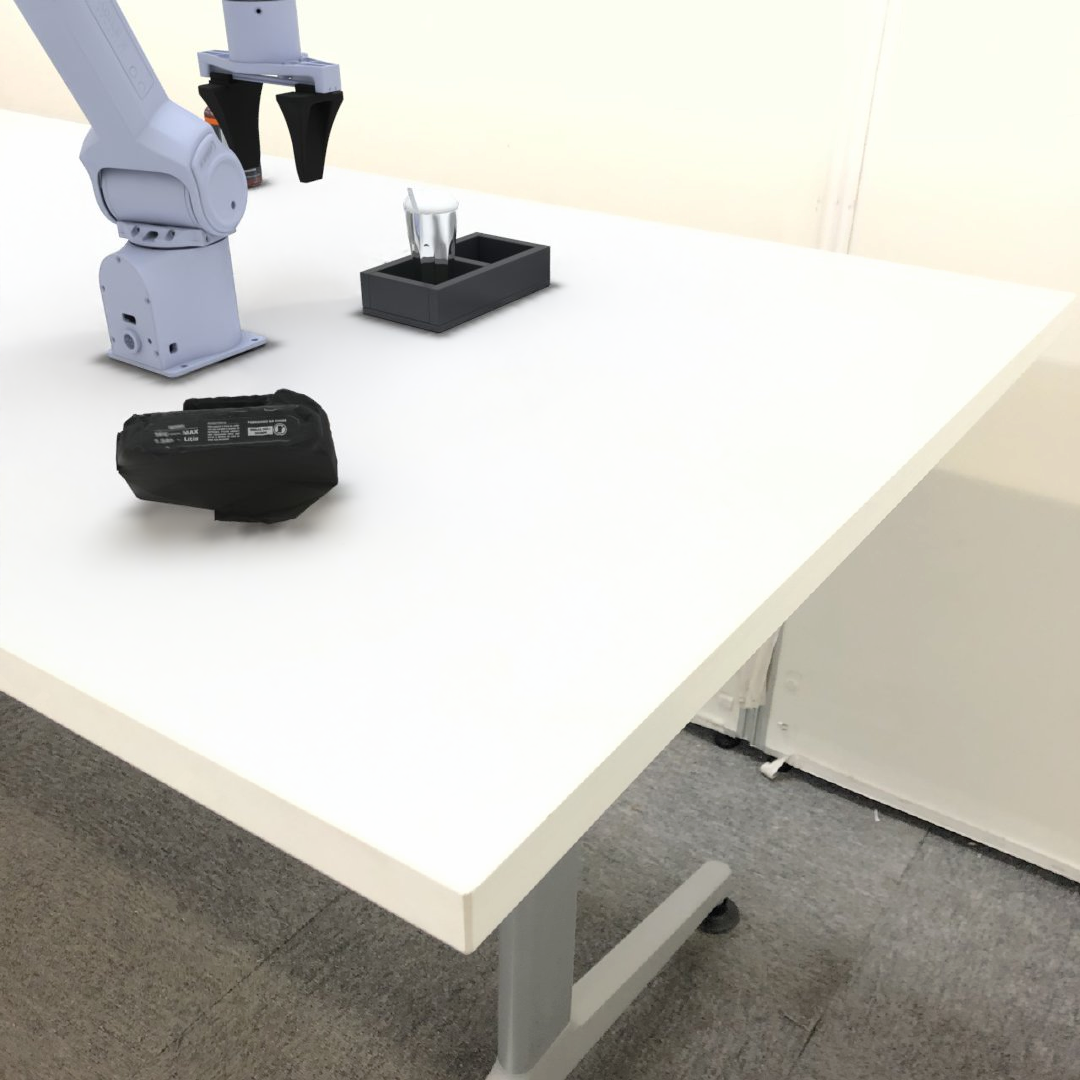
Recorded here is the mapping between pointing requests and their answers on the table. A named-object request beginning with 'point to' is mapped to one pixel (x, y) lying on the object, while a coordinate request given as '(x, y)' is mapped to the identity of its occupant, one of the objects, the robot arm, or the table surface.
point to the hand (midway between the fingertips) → (279, 174)
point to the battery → (232, 456)
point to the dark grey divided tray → (457, 283)
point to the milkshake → (432, 234)
